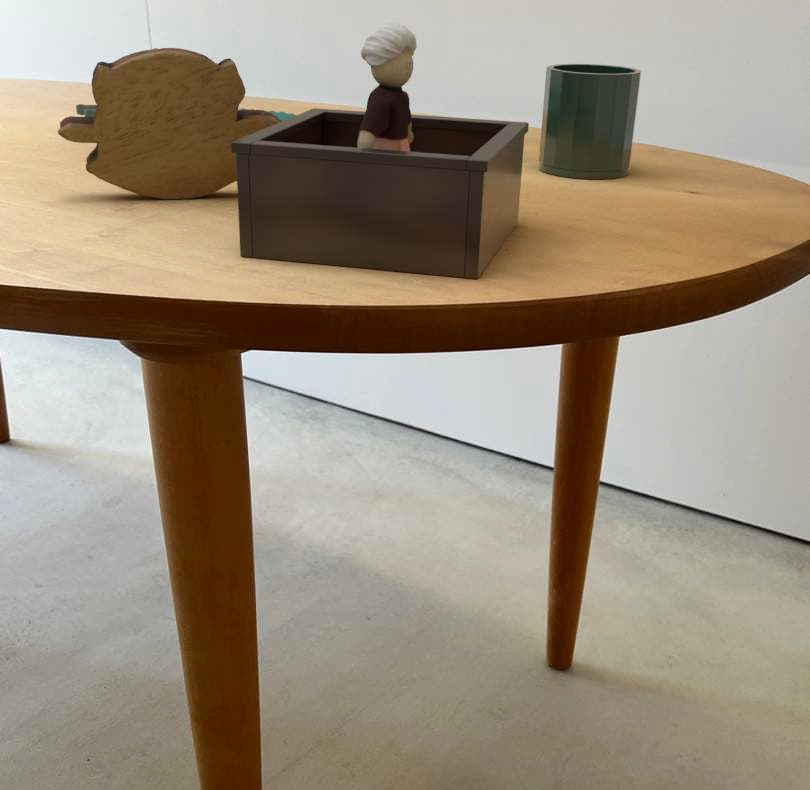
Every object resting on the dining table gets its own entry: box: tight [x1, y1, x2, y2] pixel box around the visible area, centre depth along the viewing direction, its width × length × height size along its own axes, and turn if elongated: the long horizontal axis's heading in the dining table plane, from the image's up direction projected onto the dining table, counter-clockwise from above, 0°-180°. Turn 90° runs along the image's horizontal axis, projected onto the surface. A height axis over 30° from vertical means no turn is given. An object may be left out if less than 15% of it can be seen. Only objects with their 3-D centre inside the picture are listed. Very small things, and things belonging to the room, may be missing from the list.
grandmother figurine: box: [357, 22, 418, 152], centre depth 69 cm, size 8×4×13 cm, turn 170°
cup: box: [538, 63, 642, 180], centre depth 92 cm, size 8×8×8 cm
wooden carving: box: [57, 47, 282, 200], centre depth 79 cm, size 16×5×10 cm, turn 109°
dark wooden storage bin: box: [231, 107, 530, 280], centre depth 70 cm, size 15×15×7 cm
